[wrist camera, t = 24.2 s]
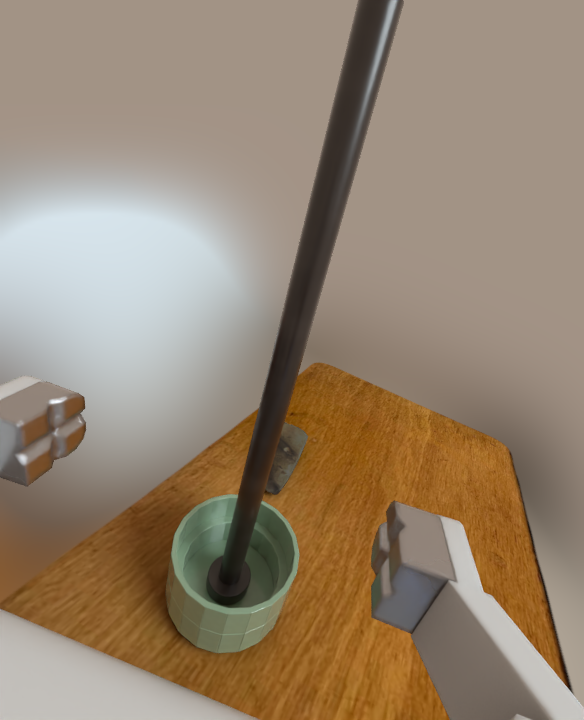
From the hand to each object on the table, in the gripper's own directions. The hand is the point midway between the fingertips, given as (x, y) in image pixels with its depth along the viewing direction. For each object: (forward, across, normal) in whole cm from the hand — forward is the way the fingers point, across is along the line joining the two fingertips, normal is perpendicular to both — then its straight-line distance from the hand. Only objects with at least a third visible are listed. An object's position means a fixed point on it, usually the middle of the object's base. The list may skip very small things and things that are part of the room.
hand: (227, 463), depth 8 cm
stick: (+12, -1, -24) cm, 26 cm away
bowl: (+12, -1, -24) cm, 27 cm away
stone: (+29, -1, -25) cm, 38 cm away
